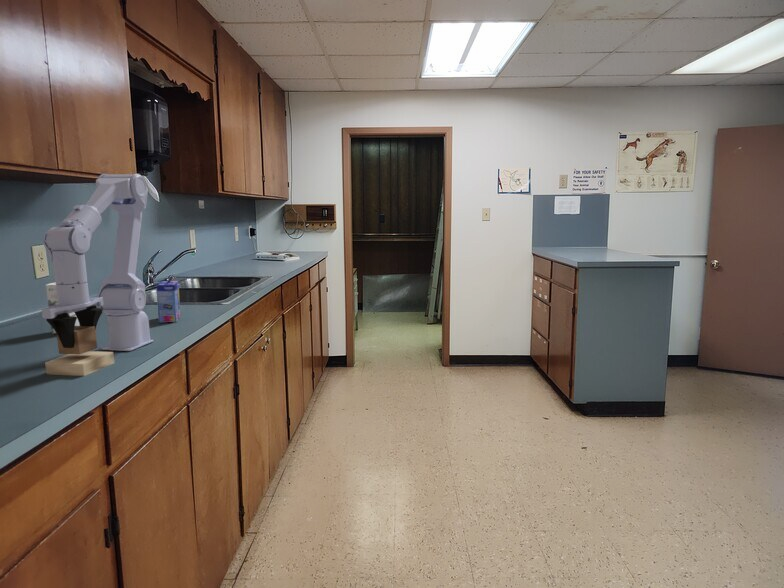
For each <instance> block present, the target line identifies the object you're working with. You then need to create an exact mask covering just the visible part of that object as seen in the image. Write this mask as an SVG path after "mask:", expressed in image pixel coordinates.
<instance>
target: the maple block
mask: <svg viewBox="0 0 784 588" xmlns="http://www.w3.org/2000/svg"><path fill="white" fill-rule="evenodd" d="M44 364H45V365H44V366H45V371H46V373H45V374H46V375H57V376H59V375H60V376H73V377H74V376H77V377H86V376H88V375H90V374H92V373H95V372H97V371H100V370H102V369H104V368H107V367H109V366H111V365H113V364H115V356H114V351H101V350H100V351H98V350H97V351H95V350H91V351H88V352H85V353H82V354H64V355H62V356H59V357H57V358H55V359H54V358H53V359H51V360H49V361H46V362H45V363H44Z"/></svg>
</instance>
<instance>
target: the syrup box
mask: <svg viewBox="0 0 784 588" xmlns="http://www.w3.org/2000/svg"><path fill="white" fill-rule="evenodd" d="M45 292H46V300H47V304H48V305H47V306H48V307H51V306H53V305H55V303H58V298H57V290H56V282H55V281H54V282H49V283H47V284H45ZM48 307H47V308H48ZM68 315H70V316H72V317H77V316H76V314H75V312H72V313H68ZM75 326H80V324H79V321H78V318H77V319H76V322H75ZM50 328H51V334H52V335H57V333H56V331H55V330H54V329H53V327H52V326H51V325H50Z"/></svg>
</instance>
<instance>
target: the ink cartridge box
mask: <svg viewBox="0 0 784 588" xmlns="http://www.w3.org/2000/svg"><path fill="white" fill-rule="evenodd" d="M173 277H174V274H172V275H171V276H170V277H169V279H168V280H164V281H163V280H162V281H160V282H159V283H158V284H157V285H156V299H157V301H156V302H157V316H158V324H159V323H161V324H164V323H165V322H175V323H177V322H178V320H179V319H180V318H181V306H180V305H181V303H180V284H179V283H180V282H179V280H172V279H173ZM179 317H180V318H179ZM178 318H179V319H178ZM176 321H177V322H176ZM165 324H166V323H165Z"/></svg>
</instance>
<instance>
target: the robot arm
mask: <svg viewBox="0 0 784 588" xmlns="http://www.w3.org/2000/svg"><path fill="white" fill-rule="evenodd" d="M148 194H149V189H148V185H147V182H146V179H145V178H144V177H143V176H142V175H141V174H140V173H133V174H127V173H126V174H125V173H124V174H122V173H121V174H110V173H109V174H108V173H102V174H100V175H99V176H98V178H96V180H95V190H94V192H92V194H91V196H90V198H89V199H88V200H87V202H86V203H85V204H79V205H74V206H73V207H72V211H70V213H69V214H68V215H67V216H66V217H65V219H63V220H62V222H61V223H60V224H59V225H58V226H52V227H51V228H50V229H48V230H46V232H45V234H44V239H43V240H42V243H43V246H44V249H45V250H46V251H47V253H48V256H49V260H50V261H51V263H53V264H52V265H53V272H54V282H56V290H57V298H58V303H55V305H53V306H51V307H46V308H41V315H42V319H46V322H47V323H48V324H49V325H50V327H51V326H52V327H53V329H54V330H55V331H56V333H57V334H56V336H57V335H58V337H59V339H60V341H61V343H62V346H63V348H73V347H74V327H75V322H76V319H77V318H78V321H79V324H80V326H95V331H97V330H96V329H97V325H98V322H99V319H100V317H101V315H102V314H103V315H106V318H107V319H106V321H107V328H108V339H109V345H106V346H104V347H101V351H118V352H123V351H124V352H132V351H134V350H136V349H138V348H141V347H143V346H146V345H148V344H150V343H153V342H154V339H151V334H150V333H151V332H150V320H149V316H148V314H146V312H145V311H143V310H144V308H145V306H146V302H147V295H146V284H145V282H143V281H142V280H141V279H140V278H138V277H137V275H136V272H137V264H138V263H137V262H138V254H139V246H140V238H141V237H140V235H141V228H142V219H143V212H144V210H146V209H147V202H148ZM107 208H110V209H111V210H112V211H115V212H117V213H118V214H117V215H118V221H117V229H116V236H115V237H116V239H115V245H114V246H115V248H114V253H113V261H112V262H113V263H112V268H111V269H112V272H111V273H110V275H108V276H107V277H105V278H104V279H102V281H101V284H100V287H99V290H98V292H97V294H96V296H95V297H90V292H89V285H88V274H87V264H86V256H85V255H86V254H85V253H86V252H88V251H89V249H90V247H91V240H92V234H93V233H94V232H95V231H96V229H97V228H98V227H99V226H100V224H101V223H102V222H103V221H102V216H101V214H103V213H104V212H105V210H106V209H107ZM72 312H75V314H76V316H77V317H72V316H70V315H68V313H72Z"/></svg>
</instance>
